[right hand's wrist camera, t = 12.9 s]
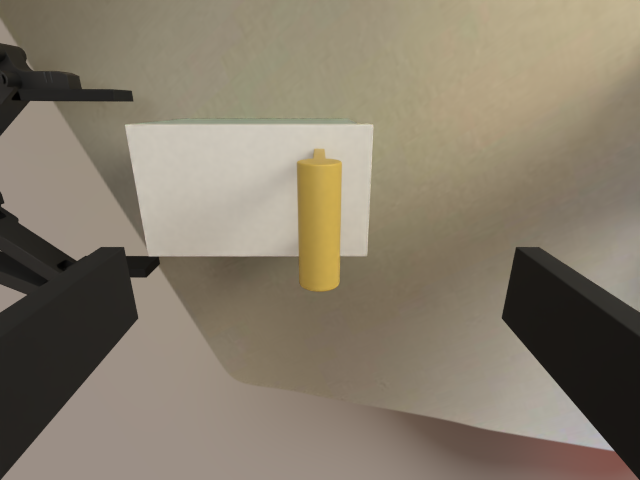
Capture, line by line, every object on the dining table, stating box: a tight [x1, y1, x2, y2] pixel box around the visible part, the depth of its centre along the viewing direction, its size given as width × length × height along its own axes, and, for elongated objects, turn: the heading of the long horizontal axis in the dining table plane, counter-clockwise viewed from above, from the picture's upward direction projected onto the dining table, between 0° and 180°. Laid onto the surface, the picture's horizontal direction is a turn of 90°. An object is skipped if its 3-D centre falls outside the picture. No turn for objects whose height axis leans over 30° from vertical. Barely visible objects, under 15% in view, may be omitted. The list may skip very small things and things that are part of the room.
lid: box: [125, 124, 373, 292], centre depth 22 cm, size 16×9×9 cm, turn 90°
